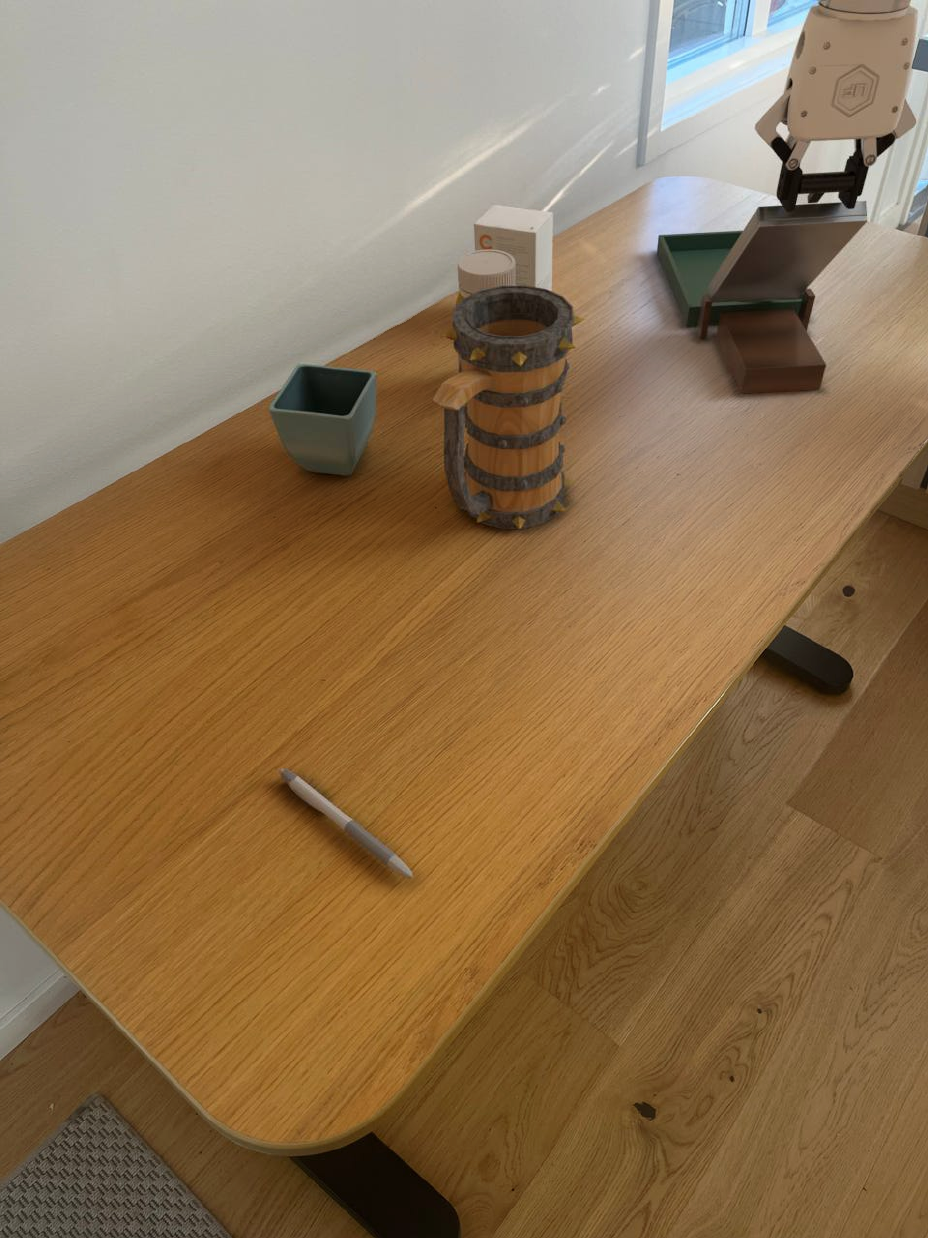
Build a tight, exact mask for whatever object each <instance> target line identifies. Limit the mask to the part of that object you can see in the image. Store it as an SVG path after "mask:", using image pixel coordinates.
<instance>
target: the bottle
mask: <svg viewBox="0 0 928 1238" xmlns="http://www.w3.org/2000/svg"><path fill="white" fill-rule="evenodd" d="M457 281H458V295H457V297H456V301H455V307H456V306H457V305H458V304H459V303H460V302H461V301H462V300H463V298H465V297H467V296H469V295H472V294H474V293H476V292H478V291H480V290H484V289H489V288H494V287H498V286H515V259H514V258H513V256H512V255H510V254H509V253H506V252H504V251H499V250H491V249H487V250H477V251H475V250H473V251H470V252H467V253H465V254H463V255H461V257H460V258H459V259H458V261H457ZM457 359H458V360H457V361H458V365H459V364H460V356H459V354H458V353H457Z"/></svg>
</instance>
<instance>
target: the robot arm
mask: <svg viewBox="0 0 928 1238" xmlns="http://www.w3.org/2000/svg"><path fill="white" fill-rule="evenodd" d="M911 2H912V0H817V5H813V6H811V7H810V9H809V11H808V12H807V15H806V18H805V21H804V22H803V26H802V29H801V31H800V34H799V37H798V40H797V43H796V46H795V48H794V52H793V55H792V58H791V62H790V66H789V70H788V72H787V76H786V81H785V85H784V90H783V92H782V95H781V96H780V97H779V98H777V100H776V101H775V102H774V104H772V106H771V107H769V108H768V110H767V111H766V112H765V113H764V114H763V115H762V116H761V118H759V120H758V121H757V122H756V123H755V125H754V131H755V132H756V133H757V135H758V136H759V137H760V138H761V140H763V141H764V143H766V145H768V146H769V147H770V148H771V149H772V150H773V152H774V153H775V154H776V156H777V157H778V158H779V160H780V161H781V168H780V173H779V178H778V182H777V188H776V198H777V200H778V201H779V203H780V205H781V206H783V207H784V209H785V210H786V212H792V211H793V210H795V206H796V205H797V202H798V198H799V197H798V196H799V194H798V193H799V188H800V184H801V179H802V175H803V174H804V172H803V169H802V168H801V162H802V160H803V158H804V157H805V154H806V152H807V150H808V148H809V146H810V144H811V142H825V141H844V140H846V141H847V140H848V141H849V140H853V144H854V145H853V146H854V152H853V154H852V155H848V158H846V162H845V165H844V170H843V172H845V171H853V172H854V174H855V183H854V187H853V189H852V190H851V191H849V192H838V194H837V197H838V200H840V202H842V203H843V204H844V206H845V207H846V208H848V209H854V208H855V205H856V201H858V197H861V196H862V195H863V191H864V187H865V183H866V181H867V180H866V179H867V176H868V172H869V170H870V169H869V168H870V167H872V166H874V165H875V164H876V162H877V159H878V157H880V156H881V155H882V154H883V153H884V152H885V151H887V150H888V149H889V148H891V146H893V144H894V143H895V141H897V139H900V138H901V137H903V136H904V135H905V134H907V133H908V132H909V131H911V130H912V129H913V128H914V127H915V126H916V125H917V119H916V117H915V114H914V113H913V111H912V109H911V107H910V105H909V103H908V101H907V100H906V96H907V91H908V86H909V82H910V76H911V71H912V65H913V58H914V52H915V46H916V38H917V37H916V36H917V30H918V17H919V16H918V15H919V11H918V9H917V8H915V7H914V6H911V5H910V4H911ZM779 124H783V125H785V126H786V127H787V131H788V132H789V133H788V135H787V137H786V138H785V139H784V138H783V137H782V136H781V134H780V133H779V132H778V131H777V127H778V125H779Z"/></svg>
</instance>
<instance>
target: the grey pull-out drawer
mask: <svg viewBox="0 0 928 1238" xmlns="http://www.w3.org/2000/svg"><path fill="white" fill-rule="evenodd" d="M854 183H855V174H854V172H853V171H845V172H844V171H831V172H830V171H829V172H811V173H808V172H807V173H803V175H802V179H801V184H800V188H799V193H798V195H807V203H802V204H801V203H800V204H796V206H795V210H793V211H792V212H786V210H785V209H784V207H783V206H782V205H766V206H765V205H764V206H758V207H757V208H756V210H755V211H754V213H753V215H752V216H751V218H750V219H749V221H748V222H747V224H746V225H745V227H744V229H743V230H742V231H743V232H742V233H741V235H740V237H739V238H738V240H737V241H736V243H735V244H734V246H733V248H732V249H731V251H730V252H729V254H728V255H727V257H726V259H725V260H724V262H723V263H722V265H721V266H720V268H719V270H718V271H717V273H716V274H715V276H714V278H713V279H712V281H711V282H710V284H709V285H708V294H709V296H710V298H711V300H712V303H719V302H738V301H757V300H775V299H794V298H798V297H799V296H800V295H801V294H802V293H803V292H804V291H805V290H806V289H808V288H809V286H810V285H812V283H814V281H815V280H816V279H817V278H818V276H819V275H820V274H822V272H823V271H824V270H825V269H826V268H827V267H828V266H829V264H830V263H831V262H833V260H834V259H835V258H836V257H837V255H838V254H840V252H841V251H842V250H843V249H844V248H845V247H846V246H847V245H848V243H849V242H851V240H852V239H853V238H854V237H855V236H856V235H857V233H858V232H859V231H860V230H861V229H862V228H863V227H864V226H865V225H866V224H867V223H868V222H869V216H868V203H867V200H860V201H858V200H857V201H856V205H855V208H854V209H848V208H846V207H845V206H844V204H843V203H842V202H841V201H839V202H820V200H821V199H822V198H823V196H824V195H825V194H827V193H831V194H832V193H839V192H849V191H851V190H852V189H853V187H854ZM819 202H820V203H819Z"/></svg>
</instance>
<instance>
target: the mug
mask: <svg viewBox="0 0 928 1238" xmlns="http://www.w3.org/2000/svg"><path fill="white" fill-rule="evenodd" d="M451 318H452V319H451V323H452V328H451V329H449V330H448V331H446V332H444V333H443V334H441V335H440V337H442V338H443V339H444V338H445V339H448V340H450V341H453V343H452V344H453V349H454V350H455V352H456V353H457V355H458V354H459V356H460V364H459V363H458V373H456V374H454V375H452V376H451V377H449V378H448V379H446V380H445V381H443V382H442V383H441V385H440V386H439V388H438V389H437V390H436V392H435V394H434V396H433V398H432V401H434V402H435V403H436V404H438V405H439V407H441V408H443V423H444V425H443V428H444V430H443V465H444V467H443V469H444V474H445V477H446V481H447V486H448V490H449V492H450V494H451V498H452V499H453V501H454V503H455V505H456V507H457V508H458V509H459V510H465V511H467V513H468V515H469V516H471V517H472V518H473V519H475V520H476V524H478V523H481V524H483V525H486V526H490V527H492V528H497V529H501V530H525V529H529V528H533V527H536V526H540V525H544V524H545V523H547V522H548V521H550V520H551V519H552V518H554V517H555V516H557V515H558V514H559V513H560V512H567V509H566V508H565V507H564V504H565V490H566V486H568V485H570V484H573V483H574V482H575V480H573V479H569V478H566V477H565V474H564V472H563V470H562V469H563V467H564V453H565V452H566V447H565V445H564V444H561V442H560V441H559V431H560V429H561V427H562V426H564V425H565V424H566V422H567V418H566V416H564V415H563V410H562V409H563V408H562V407H563V406H562V402H561V393H562V391H563V387H564V384H565V381H566V379H567V374H568V371H569V370H570V363H568V359H567V354H568V353H569V352H570V350H574V349H576V348H577V347H576V346H574V343H573V341H574V339H573V329H572V328H573V327H574V326H576V325H579V323H582V322H583V321H585V320H586V319H585V318H582V317H579V316H577V315H574V307H573V305H572V304H571V303H570V302H569V301H568V300H567V299H566V298H565V297H564V296H563V295H561V294H558V293H556V292H553V291H552V290H551V291H549V290H547V289H543V288H537V287H531V286H526V285H515V286H498V287H494V288H489V289H484V290H480V291H478V292H476V293H474V294H472V295H469V296H467V297H465V298H463V300H462V301H461V302H460V303H459V304H458V305H457V306H456V305H455V306H454V308H453V311H452V317H451ZM465 429H466V433H467V443H466V445H465V450H464V442H465V441H464V440H465Z"/></svg>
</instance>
